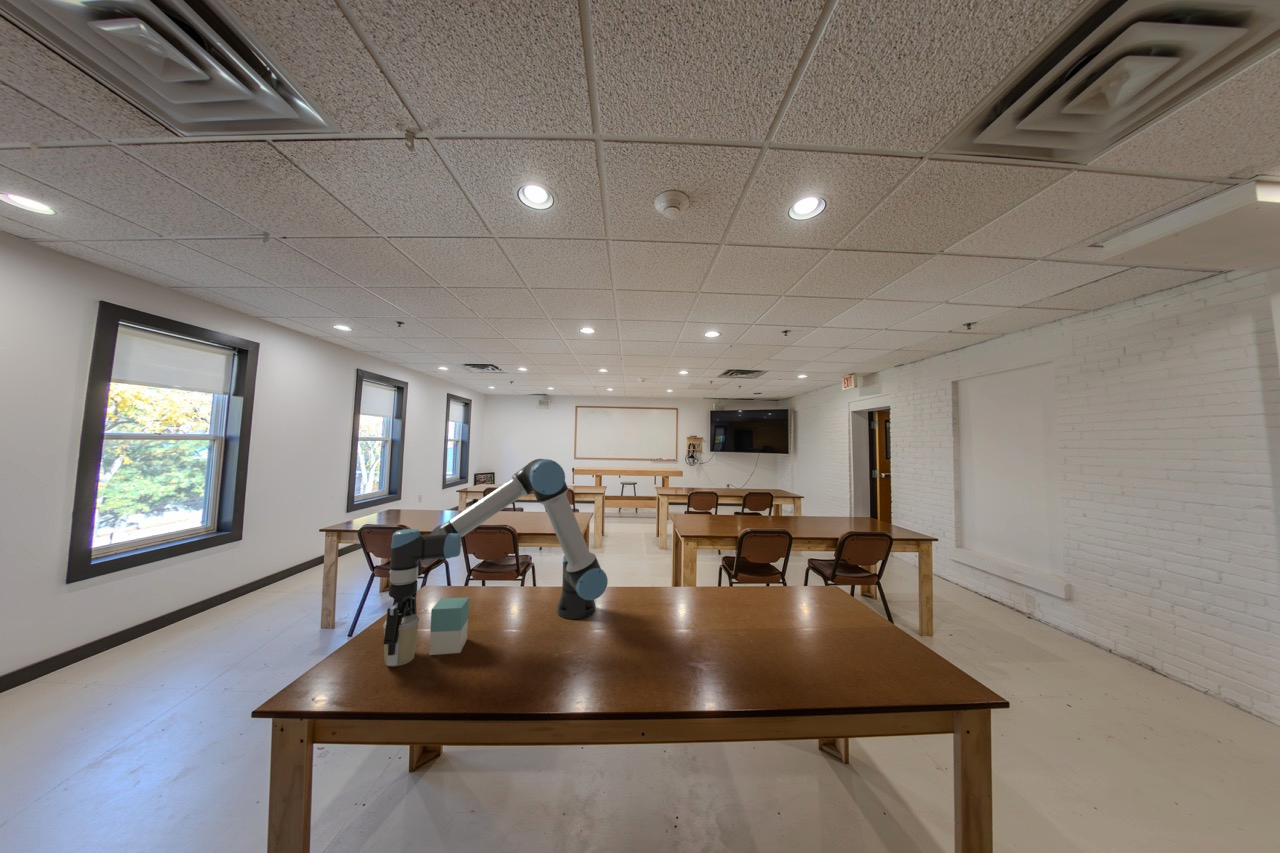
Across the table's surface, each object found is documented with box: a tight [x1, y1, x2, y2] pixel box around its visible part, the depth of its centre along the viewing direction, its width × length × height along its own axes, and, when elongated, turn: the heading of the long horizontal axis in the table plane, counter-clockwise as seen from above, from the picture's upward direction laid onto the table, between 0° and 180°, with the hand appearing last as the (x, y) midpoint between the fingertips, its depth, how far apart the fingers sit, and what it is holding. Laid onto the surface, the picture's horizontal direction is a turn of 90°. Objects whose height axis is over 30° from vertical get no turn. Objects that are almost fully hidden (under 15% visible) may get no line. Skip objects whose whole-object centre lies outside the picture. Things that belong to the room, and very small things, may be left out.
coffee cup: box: [382, 614, 420, 667], centre depth 121 cm, size 9×9×12 cm
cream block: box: [429, 619, 469, 656], centre depth 129 cm, size 9×9×7 cm
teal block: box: [430, 597, 470, 633], centre depth 130 cm, size 9×9×7 cm
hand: (399, 656), depth 121 cm, fingers closed on coffee cup, 9 cm apart
